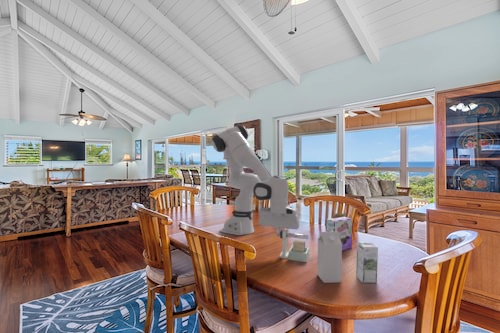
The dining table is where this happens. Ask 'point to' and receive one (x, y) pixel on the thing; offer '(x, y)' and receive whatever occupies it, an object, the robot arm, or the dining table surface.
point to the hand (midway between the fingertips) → (278, 235)
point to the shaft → (294, 235)
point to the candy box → (341, 230)
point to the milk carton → (329, 257)
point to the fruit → (338, 215)
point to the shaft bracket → (292, 254)
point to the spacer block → (299, 245)
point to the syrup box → (367, 262)
